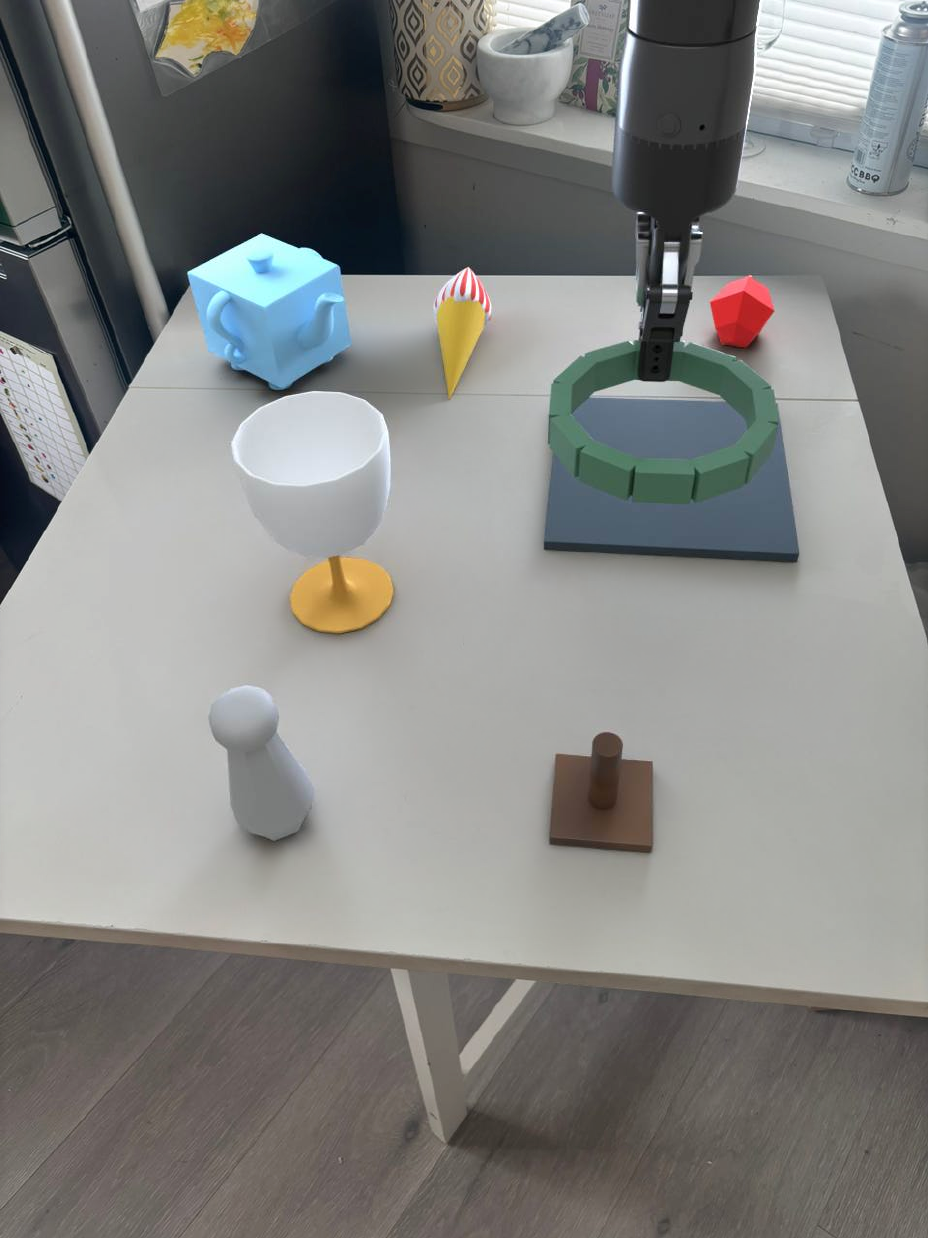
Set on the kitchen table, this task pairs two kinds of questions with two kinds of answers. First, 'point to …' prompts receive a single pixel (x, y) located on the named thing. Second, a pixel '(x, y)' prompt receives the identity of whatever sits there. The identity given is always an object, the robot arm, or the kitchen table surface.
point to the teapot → (271, 309)
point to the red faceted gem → (741, 311)
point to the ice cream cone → (460, 322)
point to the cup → (321, 499)
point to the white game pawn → (260, 764)
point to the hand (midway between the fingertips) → (652, 369)
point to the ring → (663, 476)
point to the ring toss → (603, 799)
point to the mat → (711, 528)
